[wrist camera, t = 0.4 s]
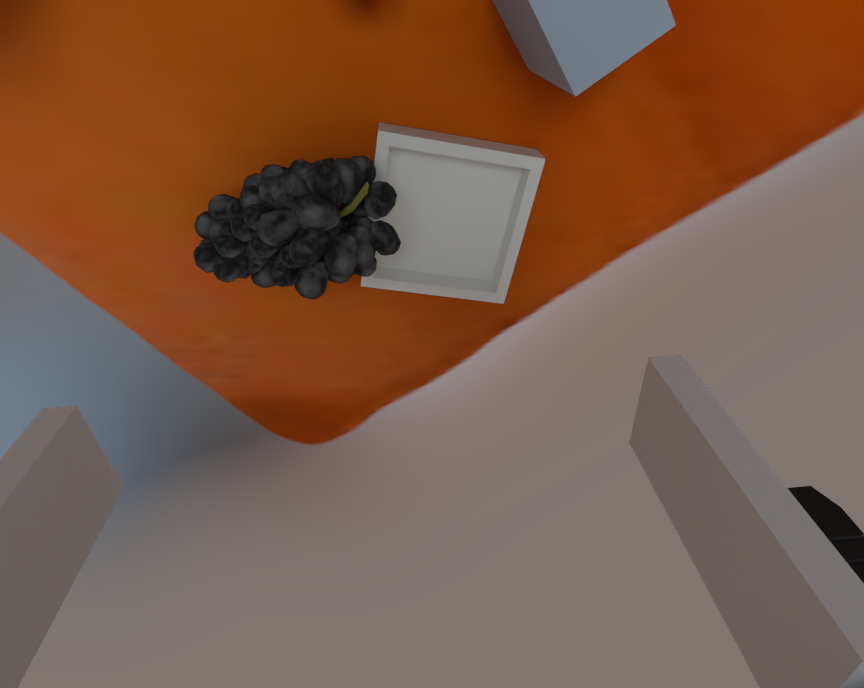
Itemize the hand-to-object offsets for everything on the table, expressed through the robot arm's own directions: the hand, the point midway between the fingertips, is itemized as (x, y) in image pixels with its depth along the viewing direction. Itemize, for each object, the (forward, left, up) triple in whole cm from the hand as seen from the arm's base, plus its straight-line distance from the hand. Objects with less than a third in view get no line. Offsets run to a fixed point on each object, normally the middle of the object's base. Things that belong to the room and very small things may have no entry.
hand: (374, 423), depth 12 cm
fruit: (+9, -11, -27) cm, 30 cm away
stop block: (-10, +8, -27) cm, 30 cm away
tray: (+4, +5, -27) cm, 28 cm away
